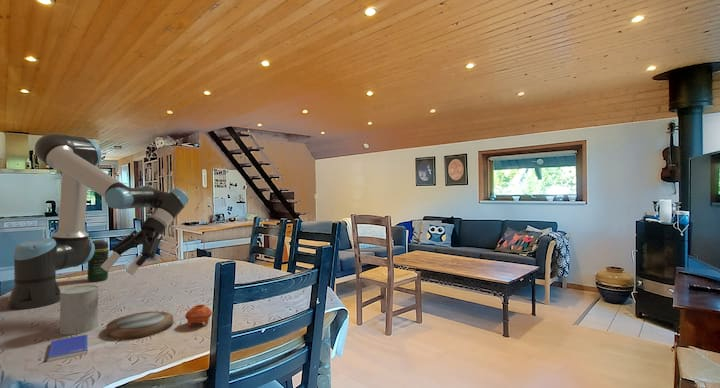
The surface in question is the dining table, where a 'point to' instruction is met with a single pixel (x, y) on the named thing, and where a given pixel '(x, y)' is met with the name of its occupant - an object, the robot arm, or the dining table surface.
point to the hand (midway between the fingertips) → (116, 271)
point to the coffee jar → (98, 262)
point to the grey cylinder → (78, 309)
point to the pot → (198, 314)
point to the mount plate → (139, 325)
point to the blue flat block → (68, 347)
